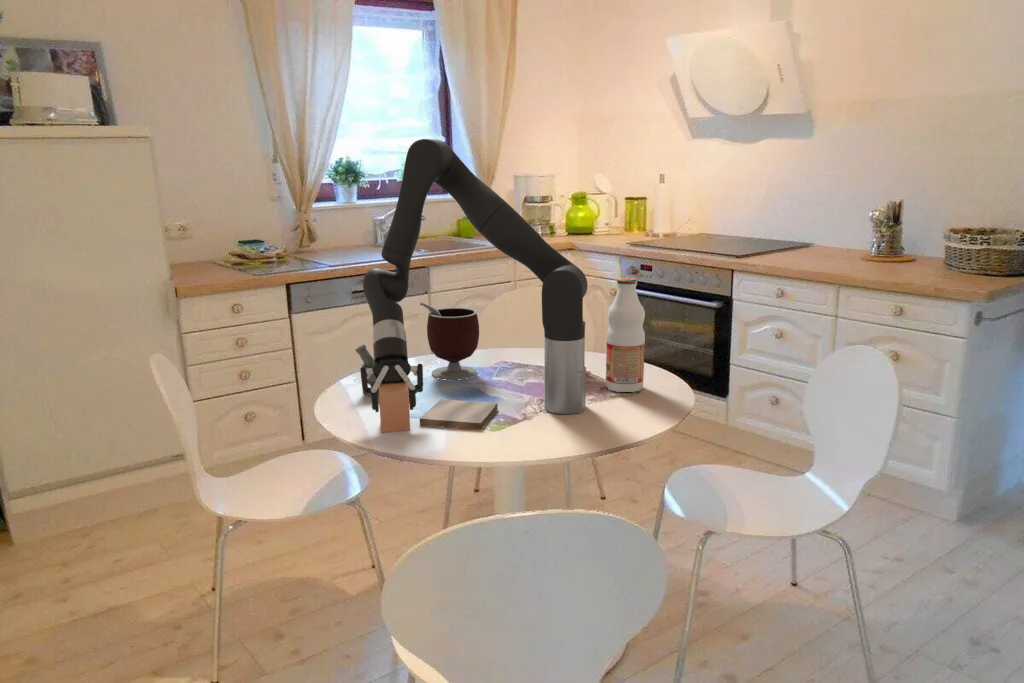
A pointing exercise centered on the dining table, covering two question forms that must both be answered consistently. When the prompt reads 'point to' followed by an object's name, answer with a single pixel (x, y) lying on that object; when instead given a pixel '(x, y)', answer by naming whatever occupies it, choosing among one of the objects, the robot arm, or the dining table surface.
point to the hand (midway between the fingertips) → (394, 409)
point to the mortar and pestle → (367, 362)
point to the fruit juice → (625, 339)
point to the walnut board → (459, 414)
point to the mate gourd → (452, 339)
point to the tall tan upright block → (394, 407)
